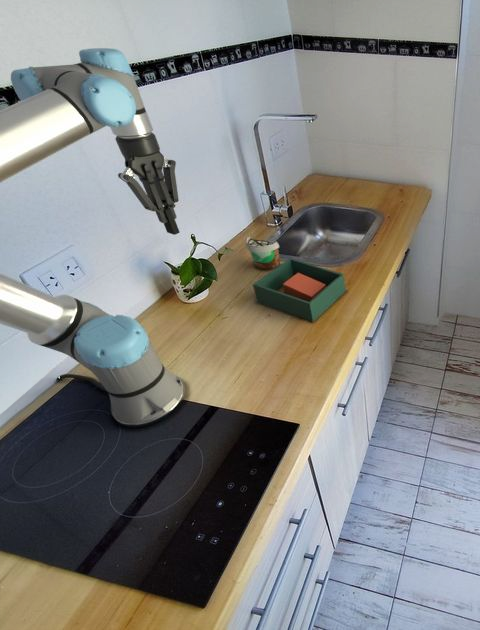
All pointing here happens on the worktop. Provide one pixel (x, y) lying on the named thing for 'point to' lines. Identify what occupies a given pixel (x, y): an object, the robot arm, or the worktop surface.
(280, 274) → the bin
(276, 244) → the food container
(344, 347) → the worktop surface
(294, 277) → the carton
